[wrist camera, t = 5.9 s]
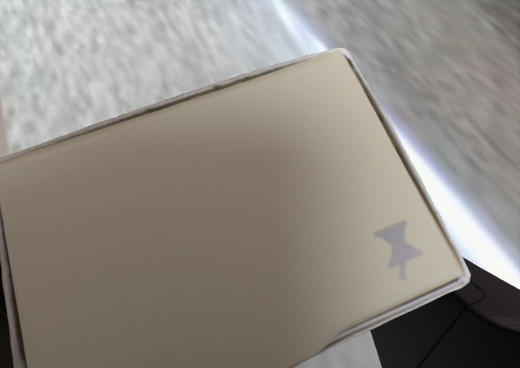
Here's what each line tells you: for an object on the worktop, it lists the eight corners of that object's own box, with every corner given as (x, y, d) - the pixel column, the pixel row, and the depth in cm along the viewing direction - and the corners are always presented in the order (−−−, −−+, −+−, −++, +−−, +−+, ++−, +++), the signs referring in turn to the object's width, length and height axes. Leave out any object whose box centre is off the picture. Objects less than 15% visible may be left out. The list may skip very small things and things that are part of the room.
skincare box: (279, 187, 16) (364, 29, 4) (307, 253, 15) (506, 277, 3) (182, 223, 15) (-38, 149, 4) (205, 295, 15) (12, 513, 3)
